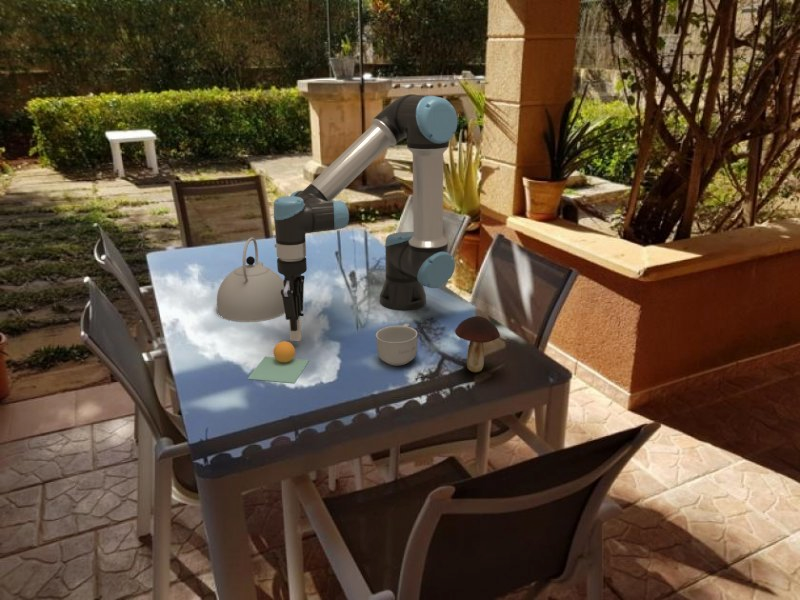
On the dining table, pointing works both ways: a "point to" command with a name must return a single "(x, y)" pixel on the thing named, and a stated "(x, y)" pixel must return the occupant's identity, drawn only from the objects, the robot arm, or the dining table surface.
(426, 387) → the dining table surface
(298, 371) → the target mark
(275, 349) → the ball
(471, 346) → the decorative mushroom
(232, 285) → the kettle
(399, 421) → the dining table surface
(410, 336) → the teacup
